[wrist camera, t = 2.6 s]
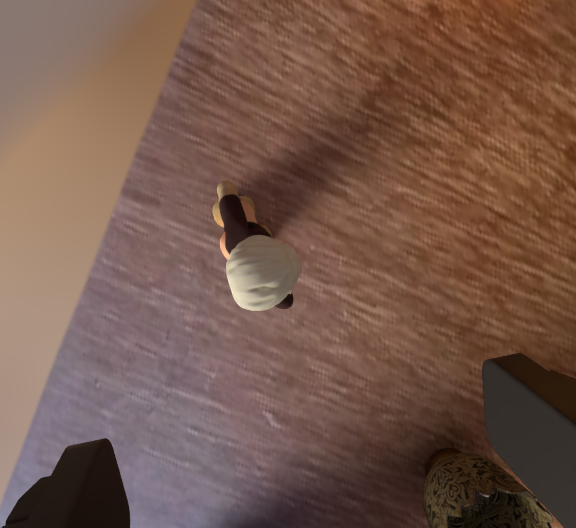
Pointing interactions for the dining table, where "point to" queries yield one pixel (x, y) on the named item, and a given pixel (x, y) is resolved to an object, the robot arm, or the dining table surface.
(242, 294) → the grandmother figurine
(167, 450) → the dining table surface
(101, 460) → the robot arm
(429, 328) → the dining table surface
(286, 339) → the dining table surface
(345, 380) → the dining table surface
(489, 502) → the cup
